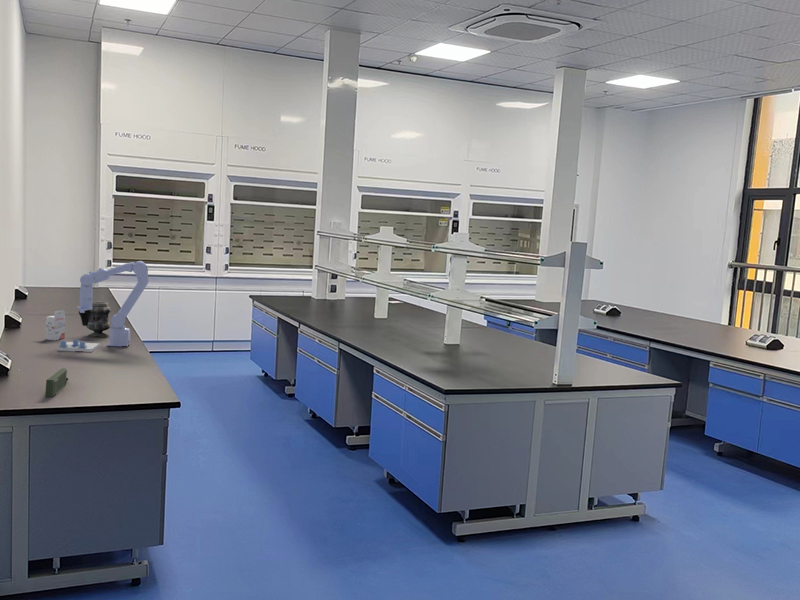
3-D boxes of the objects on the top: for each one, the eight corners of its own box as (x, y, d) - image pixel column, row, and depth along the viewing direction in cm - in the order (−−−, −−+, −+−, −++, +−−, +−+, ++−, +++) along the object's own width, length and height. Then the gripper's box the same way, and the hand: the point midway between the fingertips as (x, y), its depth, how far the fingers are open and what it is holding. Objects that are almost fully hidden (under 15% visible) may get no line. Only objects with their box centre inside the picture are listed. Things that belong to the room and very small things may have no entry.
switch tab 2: (80, 345, 347) (80, 339, 347) (78, 346, 345) (78, 340, 344) (73, 344, 347) (73, 339, 347) (71, 345, 344) (71, 339, 344)
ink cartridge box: (56, 337, 372) (57, 308, 371) (64, 338, 371) (65, 309, 370) (45, 339, 364) (45, 310, 363) (53, 340, 363) (54, 311, 362)
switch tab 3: (86, 347, 343) (87, 341, 343) (85, 348, 341) (85, 342, 340) (79, 347, 343) (80, 341, 342) (78, 348, 340) (78, 342, 340)
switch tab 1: (67, 346, 342) (68, 340, 342) (66, 347, 339) (66, 341, 339) (60, 346, 341) (60, 340, 341) (58, 347, 338) (59, 341, 338)
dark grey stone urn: (109, 334, 394) (110, 301, 393) (110, 337, 384) (112, 304, 382) (85, 333, 389) (86, 300, 387) (86, 337, 378) (87, 303, 377)
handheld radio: (43, 397, 255) (61, 382, 279) (53, 398, 255) (70, 382, 280) (44, 379, 254) (62, 365, 278) (54, 379, 255) (72, 365, 279)
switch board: (99, 346, 356) (99, 343, 356) (91, 352, 341) (91, 348, 340) (67, 345, 354) (67, 341, 354) (57, 350, 338) (57, 347, 338)
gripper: (81, 296, 363) (80, 323, 364) (73, 299, 349) (72, 327, 350) (96, 297, 364) (95, 323, 366) (89, 300, 350) (88, 328, 351)
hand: (85, 325), depth 358 cm, fingers closed
